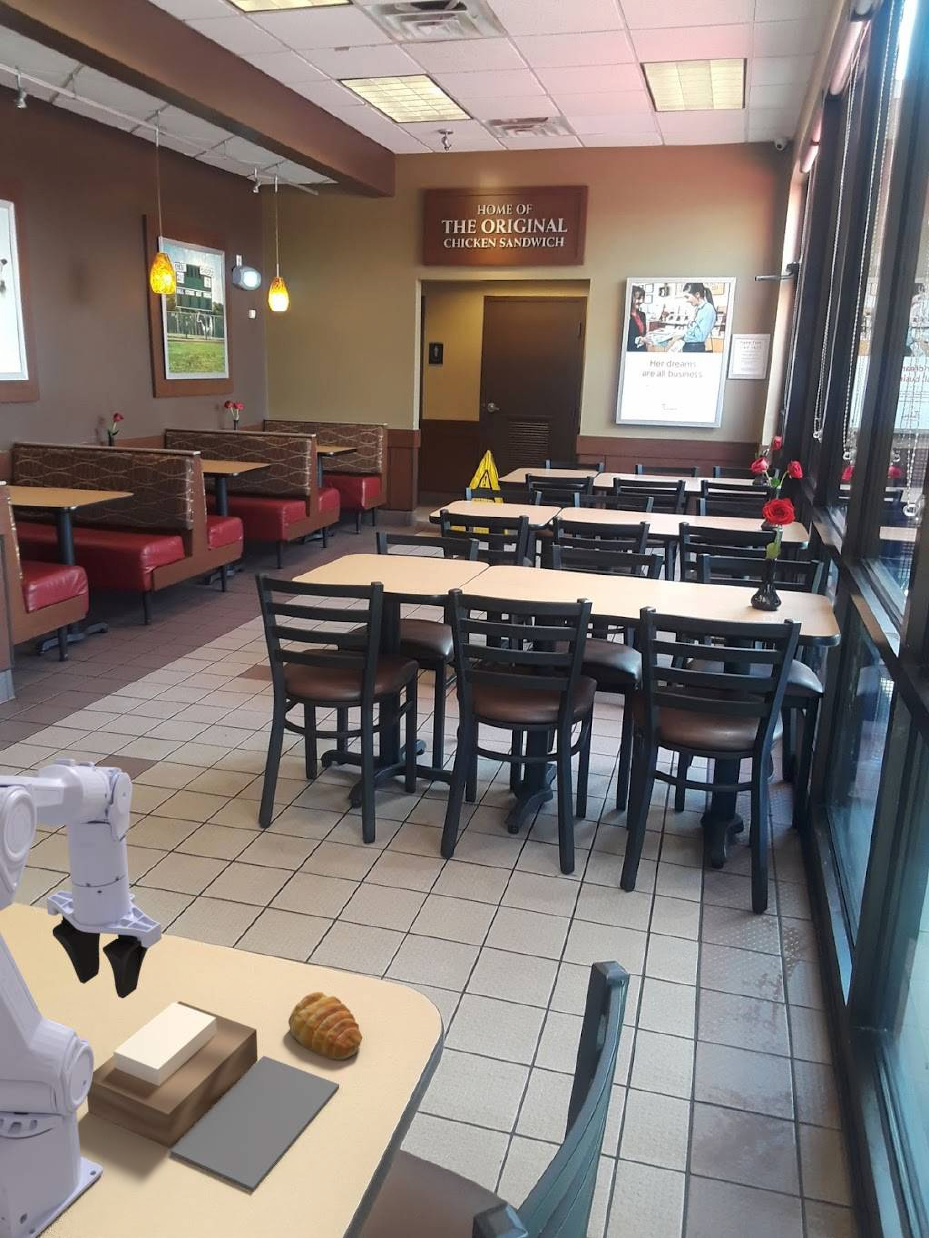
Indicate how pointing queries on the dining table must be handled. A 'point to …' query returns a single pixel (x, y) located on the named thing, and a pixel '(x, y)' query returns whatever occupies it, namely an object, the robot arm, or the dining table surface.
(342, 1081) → the dining table surface
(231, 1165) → the mat
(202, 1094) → the brown wooden block
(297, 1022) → the pastry
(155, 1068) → the block
